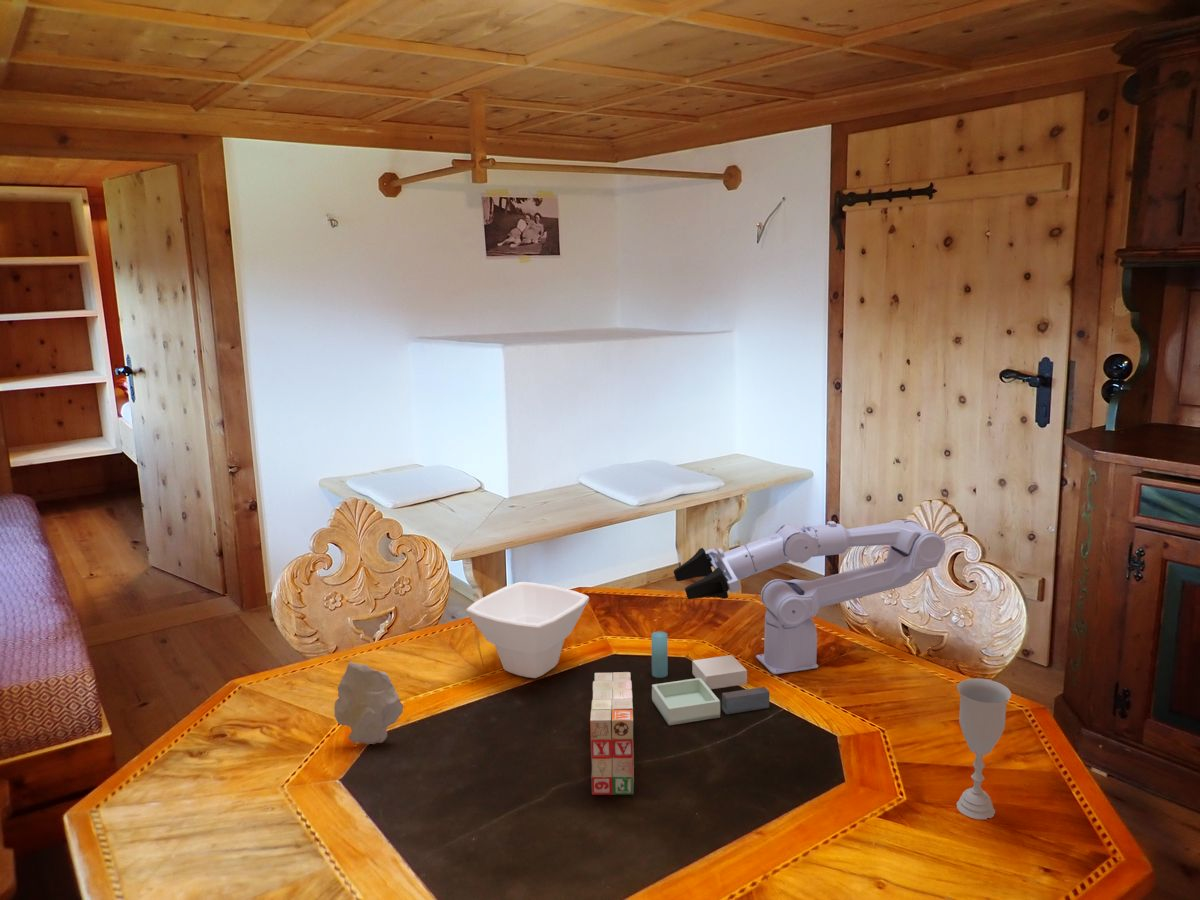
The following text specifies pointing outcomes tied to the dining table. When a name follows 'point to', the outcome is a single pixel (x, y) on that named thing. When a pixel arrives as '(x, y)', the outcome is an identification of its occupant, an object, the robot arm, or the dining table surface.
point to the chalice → (980, 736)
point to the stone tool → (367, 703)
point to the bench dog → (745, 700)
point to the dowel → (659, 654)
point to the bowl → (528, 624)
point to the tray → (685, 701)
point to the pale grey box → (720, 671)
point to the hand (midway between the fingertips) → (680, 584)
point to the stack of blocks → (612, 734)
